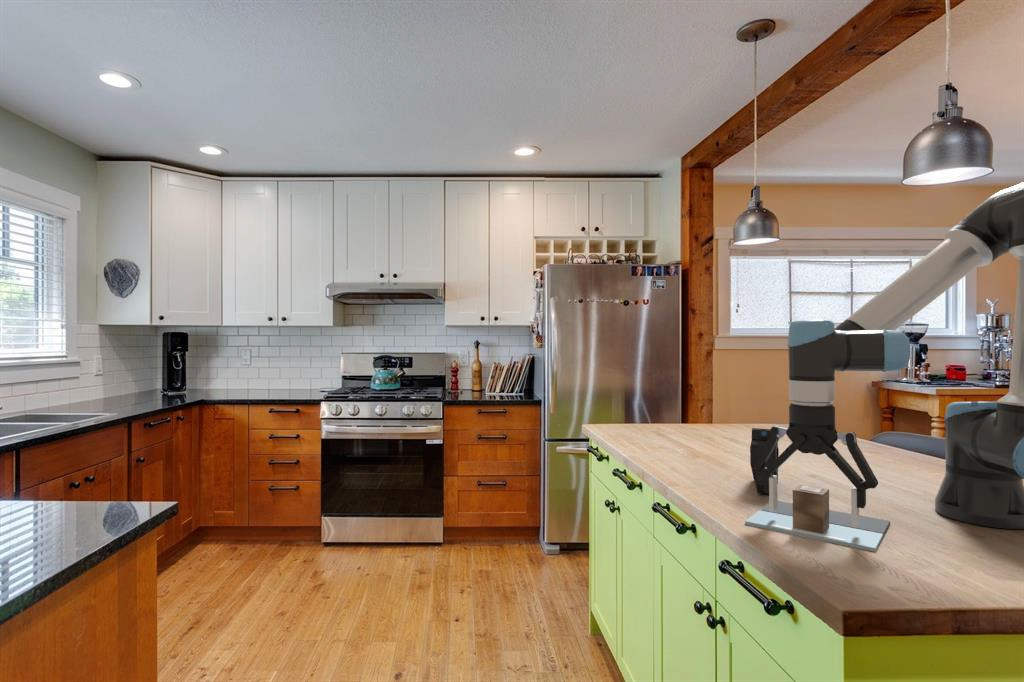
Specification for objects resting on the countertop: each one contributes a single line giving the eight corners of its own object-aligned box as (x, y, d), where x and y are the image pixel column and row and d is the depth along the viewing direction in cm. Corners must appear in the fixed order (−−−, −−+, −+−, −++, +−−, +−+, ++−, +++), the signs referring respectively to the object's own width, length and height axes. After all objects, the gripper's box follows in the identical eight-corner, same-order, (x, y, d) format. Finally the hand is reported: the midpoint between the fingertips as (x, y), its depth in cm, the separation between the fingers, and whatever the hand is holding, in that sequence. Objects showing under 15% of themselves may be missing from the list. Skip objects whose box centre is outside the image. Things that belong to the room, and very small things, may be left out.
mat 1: (890, 523, 105) (890, 520, 105) (883, 536, 98) (883, 533, 98) (773, 502, 118) (773, 500, 118) (760, 512, 112) (760, 509, 112)
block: (829, 526, 101) (829, 488, 101) (823, 533, 97) (823, 494, 97) (799, 520, 105) (799, 484, 105) (792, 527, 101) (792, 489, 101)
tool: (747, 484, 123) (749, 422, 129) (752, 506, 137) (754, 450, 144) (777, 487, 120) (778, 424, 126) (779, 510, 135) (780, 452, 141)
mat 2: (883, 537, 97) (883, 533, 97) (875, 551, 91) (875, 547, 91) (759, 513, 111) (759, 509, 111) (745, 524, 104) (745, 520, 104)
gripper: (895, 405, 96) (896, 526, 96) (748, 397, 112) (749, 500, 112) (890, 410, 90) (891, 538, 90) (735, 400, 106) (736, 509, 106)
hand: (812, 517), depth 101 cm, fingers open, 13 cm apart
